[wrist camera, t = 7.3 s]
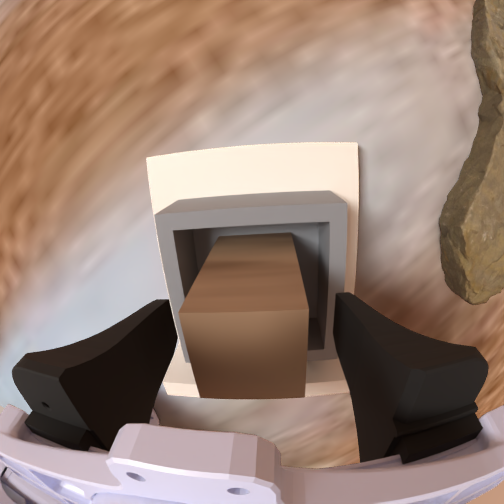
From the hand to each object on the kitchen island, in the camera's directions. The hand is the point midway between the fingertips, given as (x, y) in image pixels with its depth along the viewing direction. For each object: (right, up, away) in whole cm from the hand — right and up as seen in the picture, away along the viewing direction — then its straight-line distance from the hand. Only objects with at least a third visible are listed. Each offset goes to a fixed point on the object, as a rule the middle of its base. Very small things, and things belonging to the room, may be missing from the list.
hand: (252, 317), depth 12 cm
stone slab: (+19, +12, +2) cm, 23 cm away
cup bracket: (0, +2, +6) cm, 6 cm away
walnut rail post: (0, +2, +5) cm, 5 cm away
